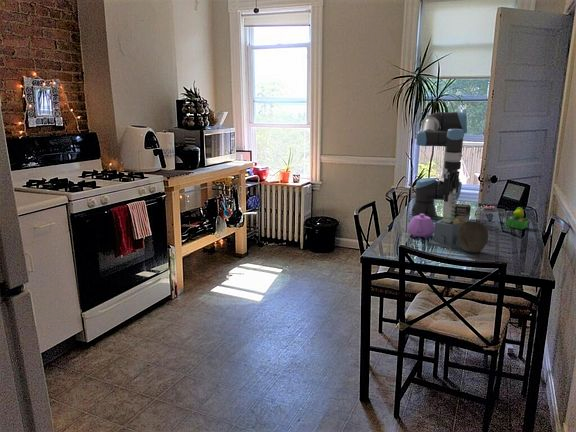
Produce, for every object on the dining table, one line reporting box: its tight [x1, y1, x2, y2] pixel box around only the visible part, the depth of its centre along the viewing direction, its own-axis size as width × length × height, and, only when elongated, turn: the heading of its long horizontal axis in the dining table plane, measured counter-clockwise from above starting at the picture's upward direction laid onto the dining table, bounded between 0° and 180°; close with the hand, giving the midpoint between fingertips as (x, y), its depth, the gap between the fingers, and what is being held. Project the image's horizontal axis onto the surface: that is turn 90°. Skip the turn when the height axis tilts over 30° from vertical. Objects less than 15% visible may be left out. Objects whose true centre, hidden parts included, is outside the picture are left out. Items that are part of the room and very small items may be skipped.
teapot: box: [407, 214, 435, 239], centre depth 245 cm, size 20×14×12 cm
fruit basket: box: [504, 206, 530, 230], centre depth 262 cm, size 11×9×11 cm
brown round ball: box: [458, 220, 489, 254], centre depth 220 cm, size 14×14×15 cm
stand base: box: [427, 218, 460, 250], centre depth 234 cm, size 12×16×13 cm
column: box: [442, 187, 457, 224], centre depth 231 cm, size 5×4×21 cm
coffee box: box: [453, 203, 472, 227], centre depth 249 cm, size 9×6×16 cm
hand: (449, 206), depth 231 cm, fingers open, 7 cm apart
